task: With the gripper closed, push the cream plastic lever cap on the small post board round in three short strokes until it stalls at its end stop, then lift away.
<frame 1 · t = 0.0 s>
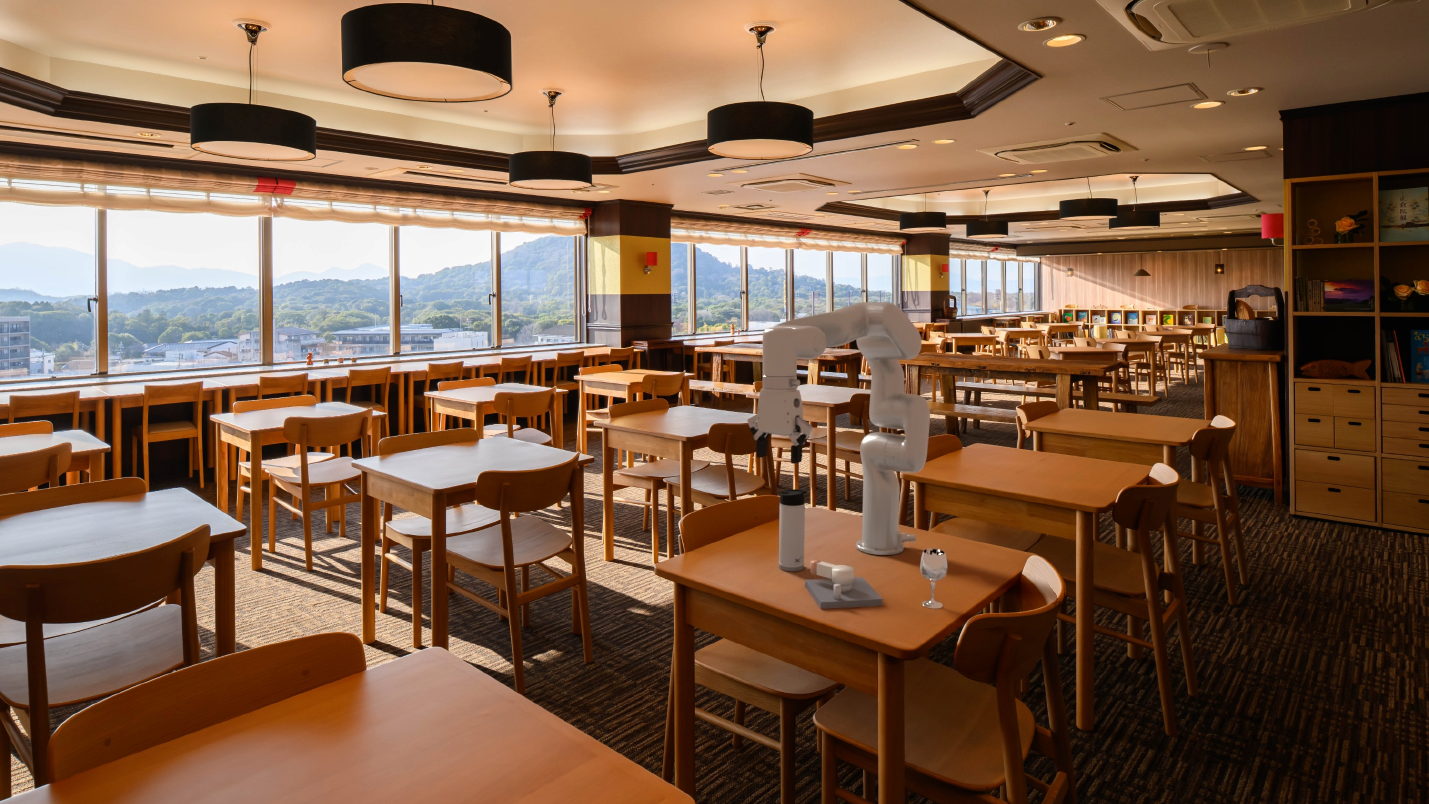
hand: (778, 459, 176), 31 cm above the table, tool pointing down, fingers open, 9 cm apart
lever cap: (831, 571, 180), point 5 cm above the table, hinge at 0.0°
post board: (842, 595, 179), on the table
wineglass: (932, 605, 173), on the table
travel mug: (792, 568, 198), on the table
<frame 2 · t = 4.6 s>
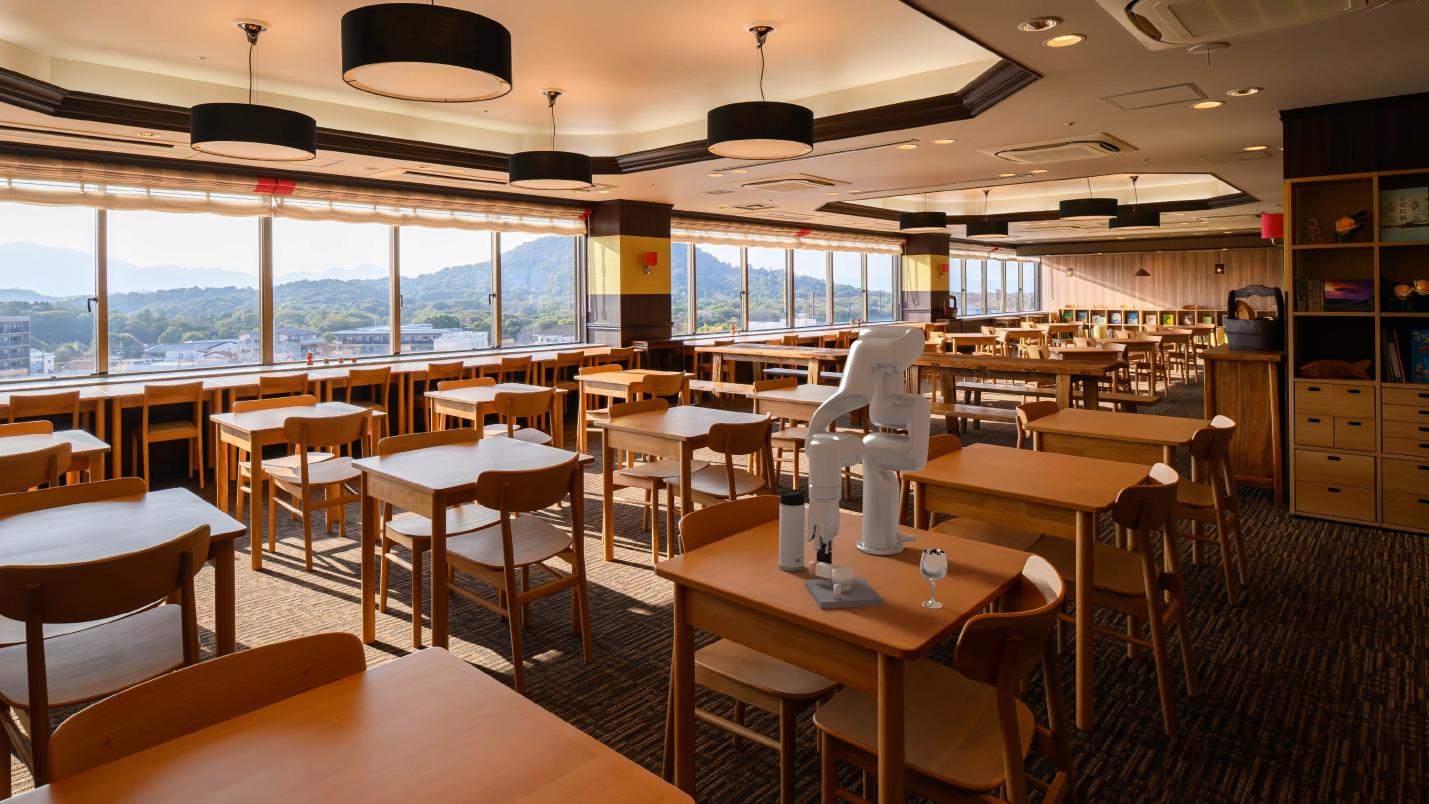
hand: (824, 567, 185), 4 cm above the table, tool pointing down, fingers closed
lever cap: (830, 572, 180), point 5 cm above the table, hinge at 4.5°, touching gripper
everything else where it was.
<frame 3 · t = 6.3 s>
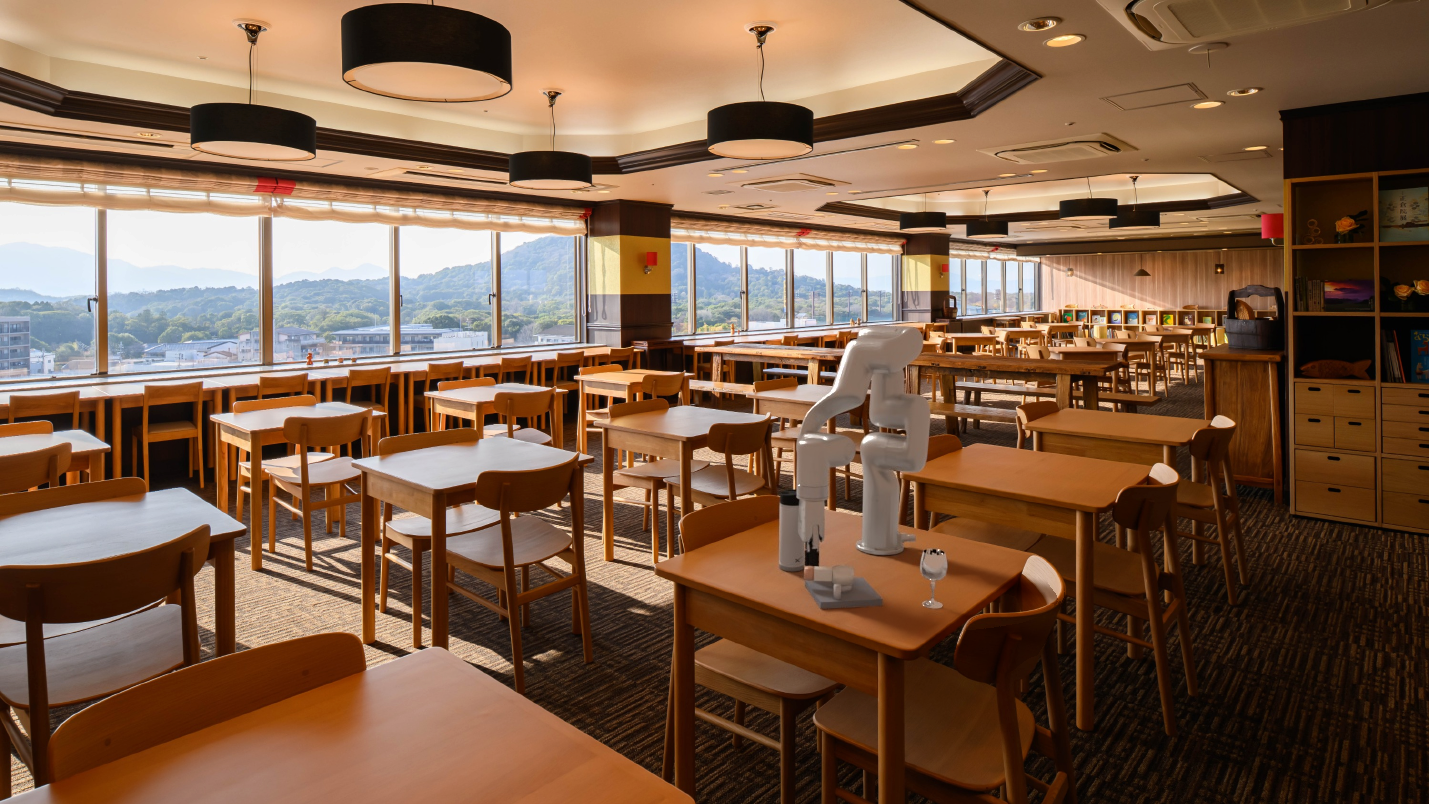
hand: (811, 567, 186), 4 cm above the table, tool pointing down, fingers closed
lever cap: (829, 574, 179), point 5 cm above the table, hinge at 36.5°
everything else where it was.
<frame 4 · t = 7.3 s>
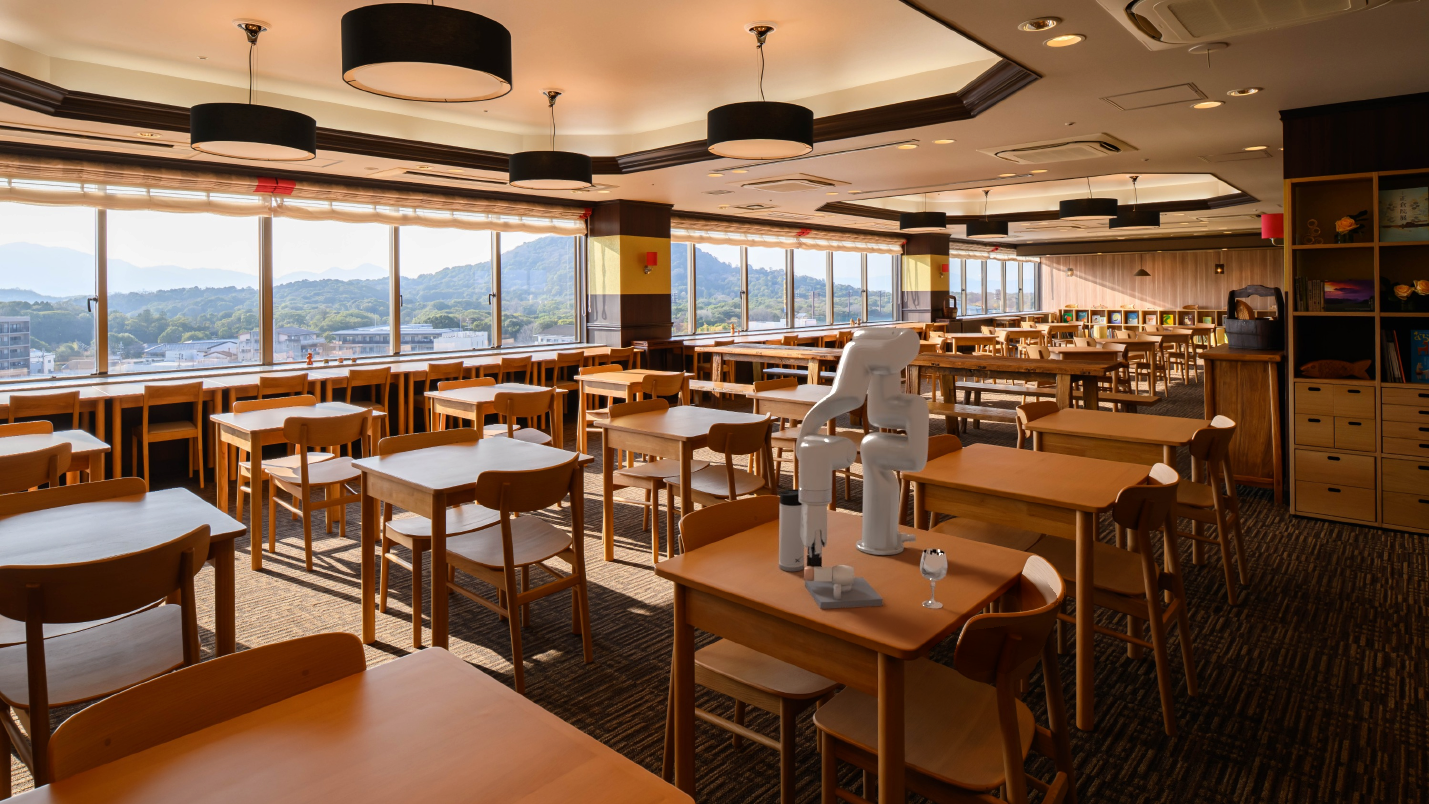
hand: (814, 572, 182), 4 cm above the table, tool pointing down, fingers closed
lever cap: (829, 574, 179), point 5 cm above the table, hinge at 38.0°, touching gripper
everything else where it was.
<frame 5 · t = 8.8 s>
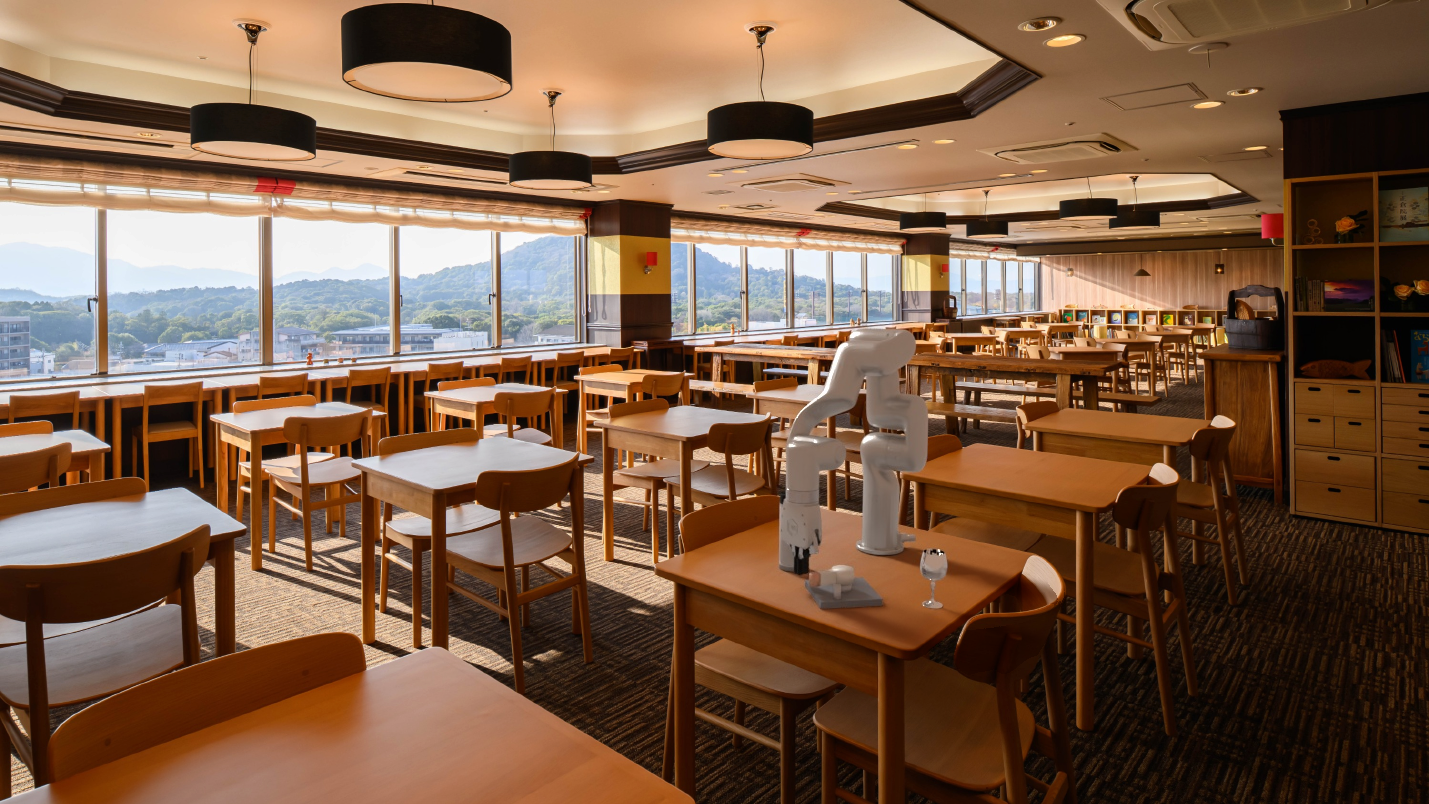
hand: (801, 573, 182), 4 cm above the table, tool pointing down, fingers closed
lever cap: (831, 577, 177), point 5 cm above the table, hinge at 67.3°
everything else where it was.
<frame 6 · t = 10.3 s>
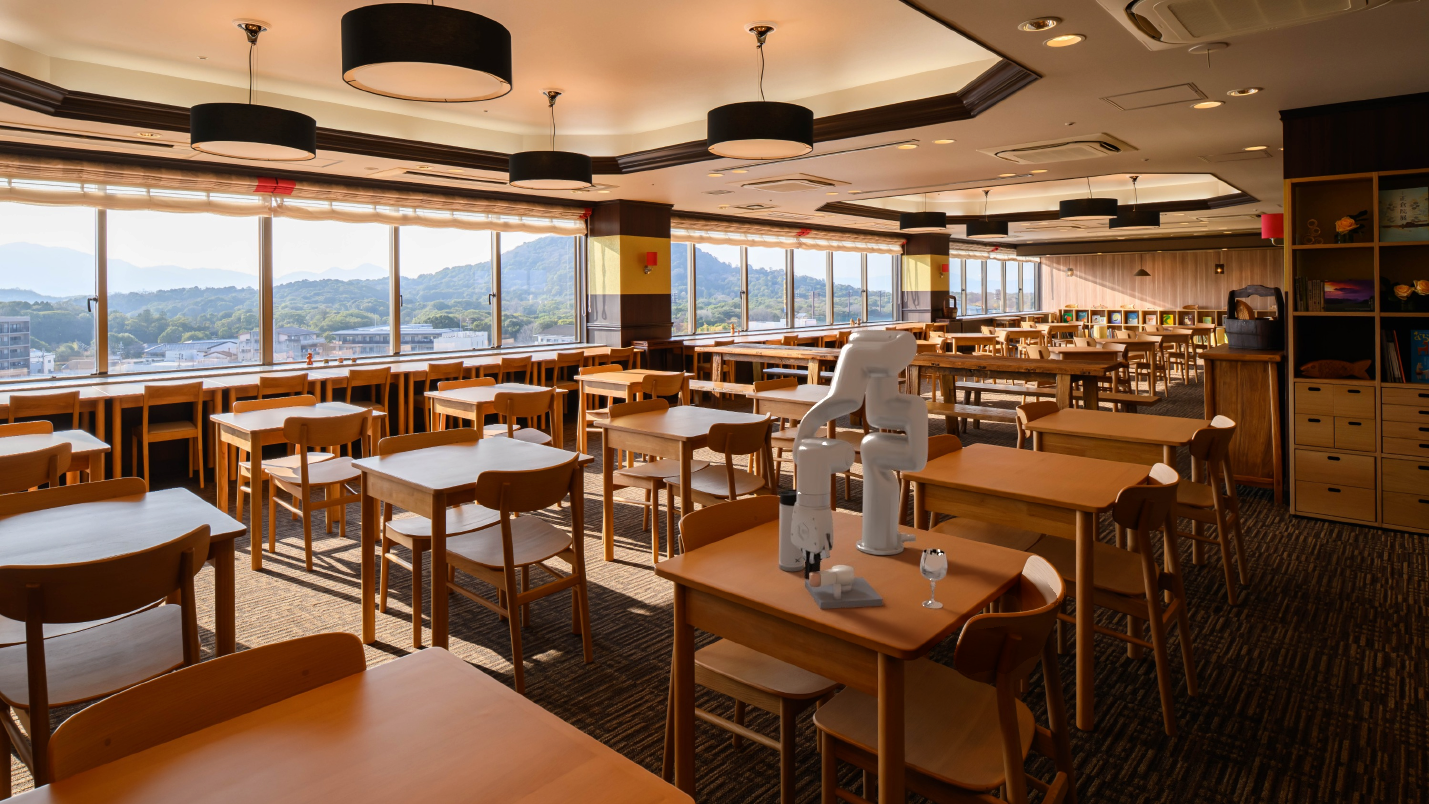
hand: (812, 577, 178), 4 cm above the table, tool pointing down, fingers closed
lever cap: (831, 577, 177), point 5 cm above the table, hinge at 68.0°, touching gripper
everything else where it was.
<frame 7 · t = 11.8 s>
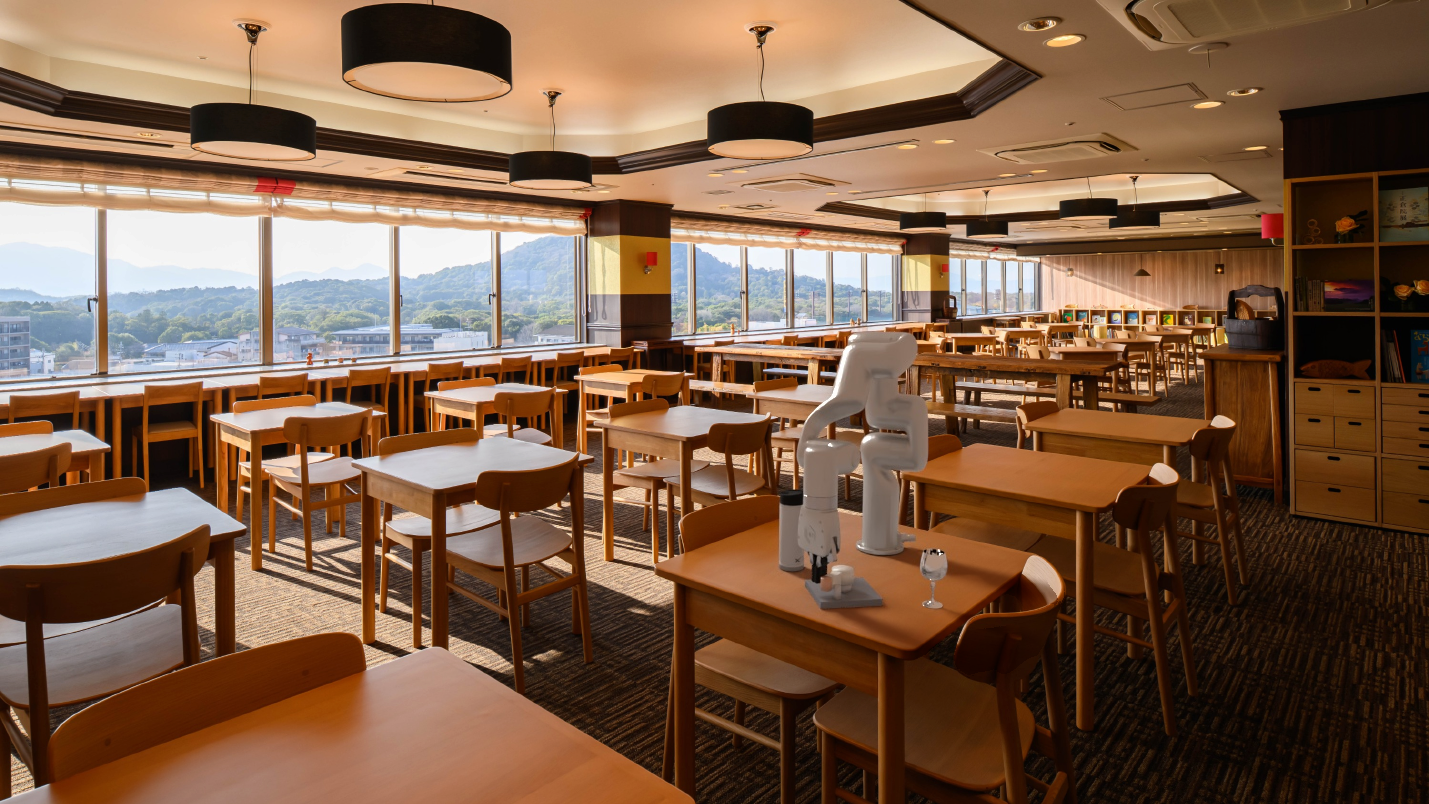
hand: (819, 581, 176), 4 cm above the table, tool pointing down, fingers closed
lever cap: (836, 578, 176), point 5 cm above the table, hinge at 94.6°, touching gripper, post board
everything else where it was.
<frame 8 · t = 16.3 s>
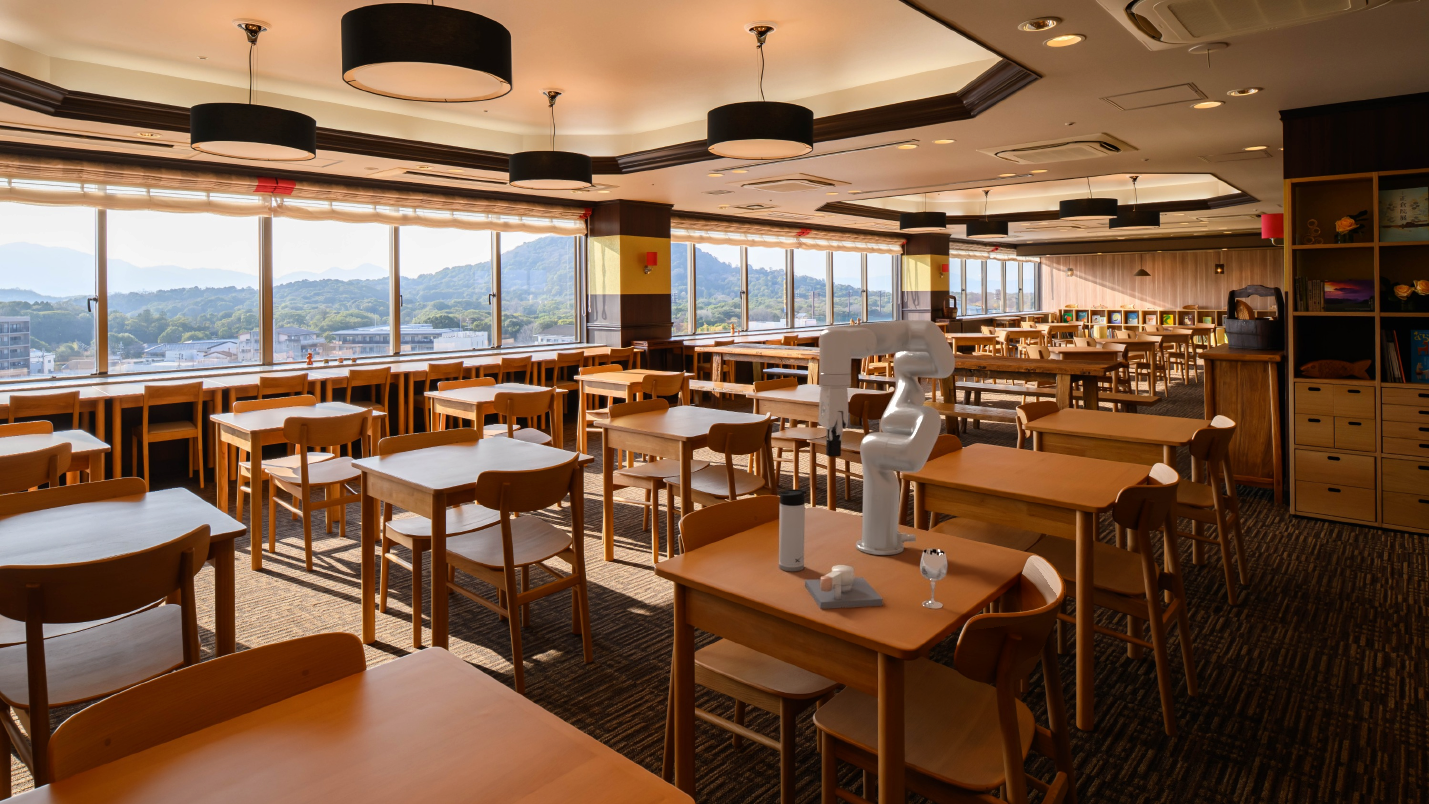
hand: (833, 455, 191), 29 cm above the table, tool pointing down, fingers closed
lever cap: (836, 578, 176), point 5 cm above the table, hinge at 94.3°
everything else where it was.
at the end: lever cap at +94° (first picture: +0°) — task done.
